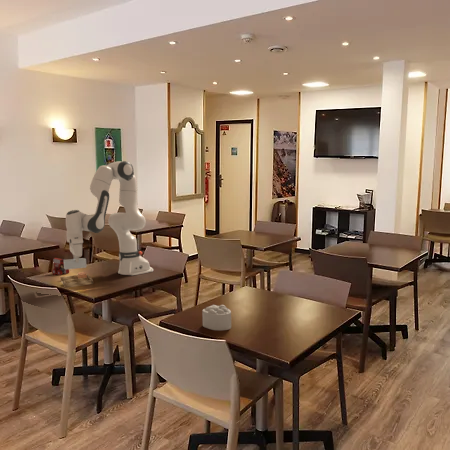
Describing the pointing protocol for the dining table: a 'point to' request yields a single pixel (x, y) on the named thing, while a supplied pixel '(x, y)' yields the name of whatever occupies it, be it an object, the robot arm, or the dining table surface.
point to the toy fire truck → (59, 267)
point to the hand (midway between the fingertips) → (76, 261)
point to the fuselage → (74, 263)
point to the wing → (82, 275)
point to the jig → (75, 281)
